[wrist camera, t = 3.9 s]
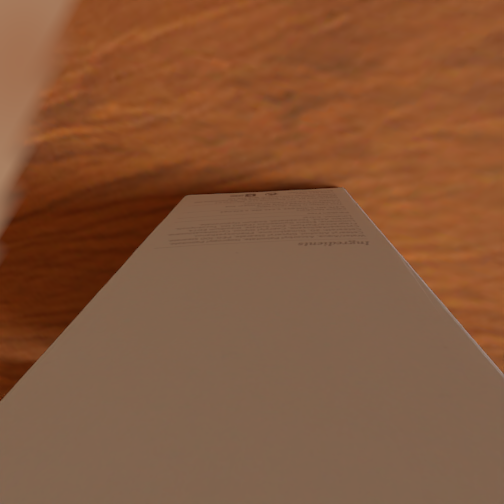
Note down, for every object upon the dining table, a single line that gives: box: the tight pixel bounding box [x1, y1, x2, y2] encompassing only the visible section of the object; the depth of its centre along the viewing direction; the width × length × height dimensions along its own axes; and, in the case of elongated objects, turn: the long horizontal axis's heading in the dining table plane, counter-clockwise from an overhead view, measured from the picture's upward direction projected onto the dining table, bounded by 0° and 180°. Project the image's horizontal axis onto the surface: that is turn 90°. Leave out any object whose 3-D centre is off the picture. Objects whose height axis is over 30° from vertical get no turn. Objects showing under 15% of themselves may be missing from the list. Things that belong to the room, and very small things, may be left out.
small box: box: [0, 188, 504, 504], centre depth 9 cm, size 8×6×13 cm
